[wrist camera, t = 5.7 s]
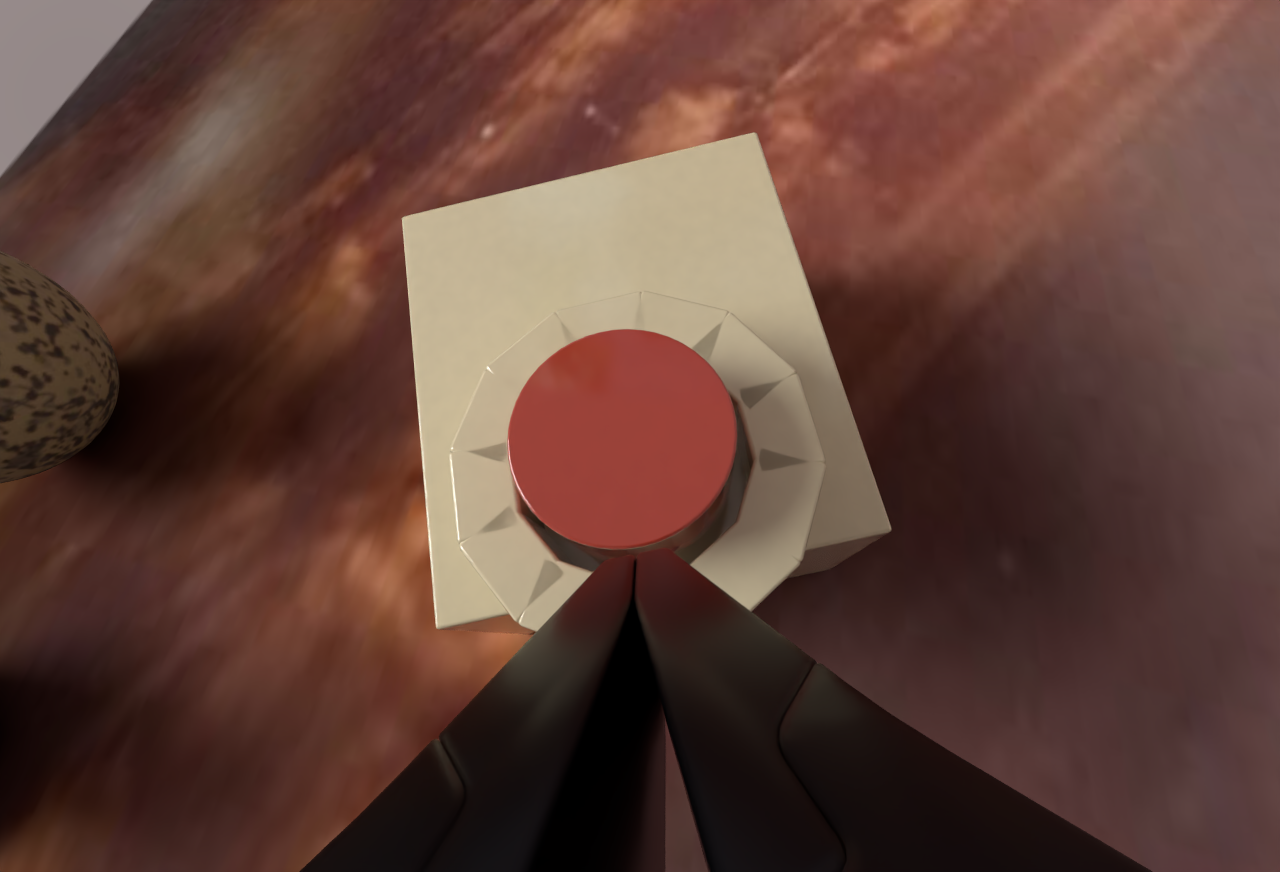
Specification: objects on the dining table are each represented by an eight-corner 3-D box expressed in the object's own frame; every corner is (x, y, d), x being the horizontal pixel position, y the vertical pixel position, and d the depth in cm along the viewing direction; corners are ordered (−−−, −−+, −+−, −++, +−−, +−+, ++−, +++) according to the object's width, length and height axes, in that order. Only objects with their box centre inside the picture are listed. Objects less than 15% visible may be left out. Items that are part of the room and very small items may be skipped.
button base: (845, 613, 17) (953, 589, 10) (530, 680, 17) (393, 708, 10) (743, 274, 21) (762, 64, 13) (485, 334, 21) (362, 162, 14)
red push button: (756, 539, 10) (765, 519, 9) (551, 583, 11) (521, 572, 9) (707, 353, 12) (706, 306, 10) (523, 395, 12) (493, 355, 10)
